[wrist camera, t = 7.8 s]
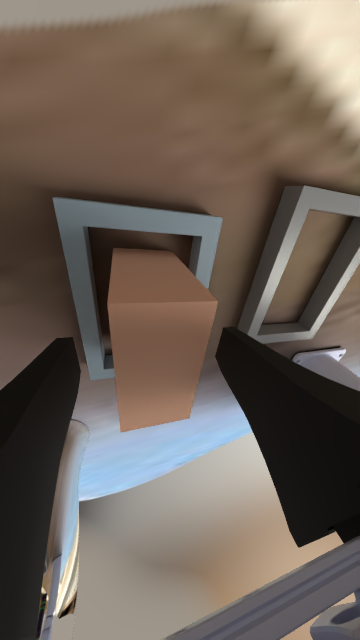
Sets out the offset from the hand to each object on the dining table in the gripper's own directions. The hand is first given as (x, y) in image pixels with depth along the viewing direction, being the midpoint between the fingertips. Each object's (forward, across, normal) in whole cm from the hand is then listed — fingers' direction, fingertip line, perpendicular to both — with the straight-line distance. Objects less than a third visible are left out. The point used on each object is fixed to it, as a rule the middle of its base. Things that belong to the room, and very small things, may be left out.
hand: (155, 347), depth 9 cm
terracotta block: (+5, 0, 0) cm, 5 cm away
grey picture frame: (+5, 0, 0) cm, 5 cm away
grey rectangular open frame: (+5, -12, -2) cm, 14 cm away
